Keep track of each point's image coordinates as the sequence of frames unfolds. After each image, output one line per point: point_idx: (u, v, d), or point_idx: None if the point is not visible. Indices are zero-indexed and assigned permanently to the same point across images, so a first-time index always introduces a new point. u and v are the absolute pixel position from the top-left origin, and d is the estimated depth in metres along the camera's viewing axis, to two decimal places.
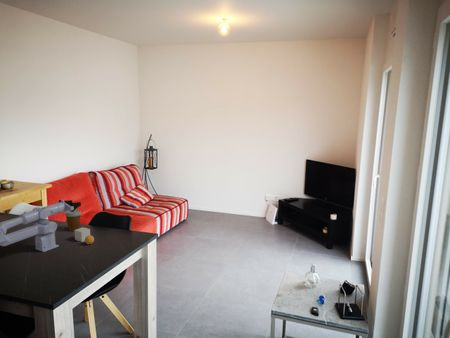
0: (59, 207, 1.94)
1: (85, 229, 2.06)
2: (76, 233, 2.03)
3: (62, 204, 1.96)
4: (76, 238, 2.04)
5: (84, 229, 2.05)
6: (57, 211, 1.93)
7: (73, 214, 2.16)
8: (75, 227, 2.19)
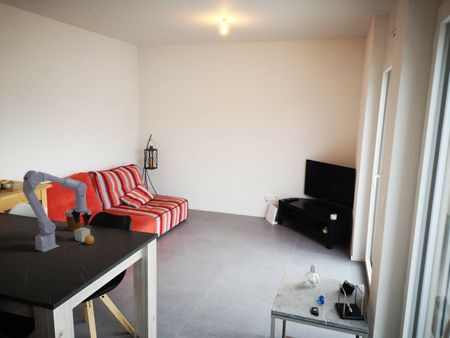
0: (85, 203, 2.02)
1: (85, 229, 2.06)
2: (76, 233, 2.03)
3: None
4: (76, 238, 2.04)
5: (84, 229, 2.05)
6: (81, 202, 1.99)
7: None
8: (75, 227, 2.19)
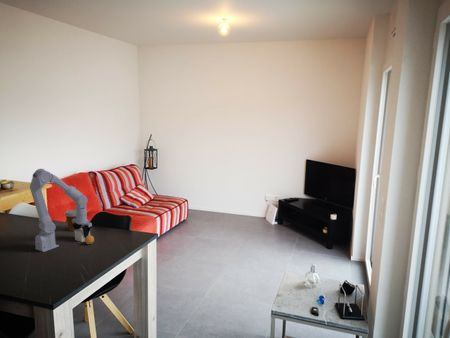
0: (86, 215, 2.03)
1: None
2: (76, 233, 2.03)
3: (86, 219, 2.05)
4: (76, 238, 2.04)
5: None
6: (81, 214, 2.01)
7: (73, 214, 2.16)
8: None
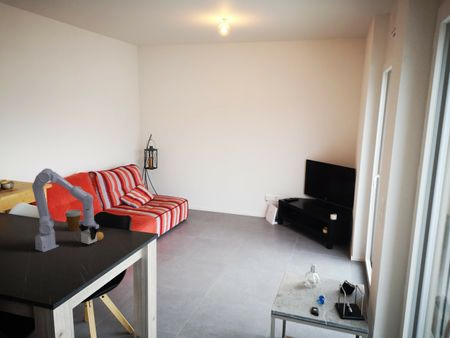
0: (93, 217, 1.96)
1: None
2: (82, 235, 1.97)
3: (93, 220, 1.98)
4: (82, 240, 1.97)
5: None
6: (86, 215, 1.94)
7: (73, 214, 2.16)
8: (75, 227, 2.19)
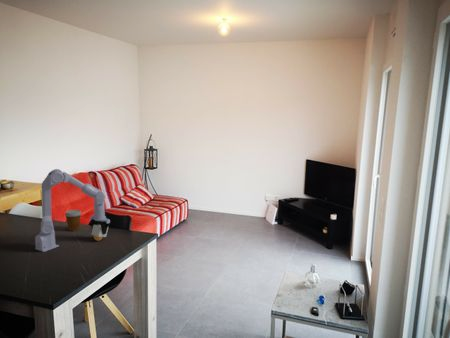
0: (104, 212, 2.03)
1: None
2: (94, 227, 2.04)
3: (104, 215, 2.05)
4: (93, 233, 2.03)
5: None
6: (98, 211, 2.01)
7: (73, 214, 2.16)
8: (75, 227, 2.19)
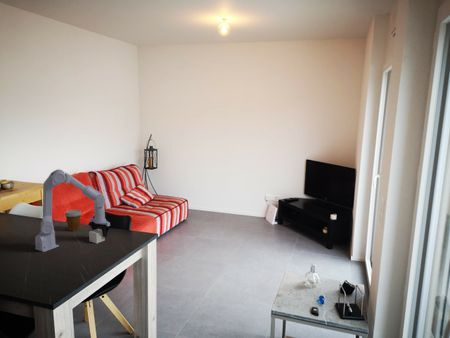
0: (104, 215, 2.04)
1: (100, 230, 2.04)
2: (91, 234, 2.02)
3: (104, 218, 2.05)
4: (91, 240, 2.02)
5: (99, 230, 2.04)
6: (98, 213, 2.01)
7: (73, 214, 2.16)
8: (75, 227, 2.19)
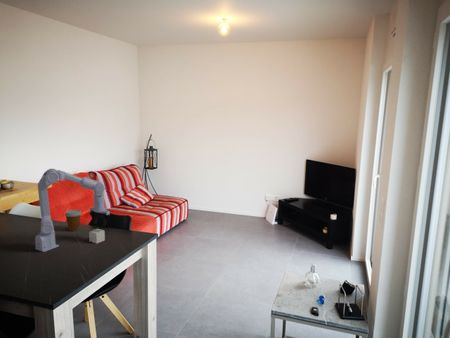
0: (103, 203, 2.02)
1: (100, 230, 2.04)
2: (91, 234, 2.02)
3: (104, 207, 2.04)
4: (91, 240, 2.02)
5: (99, 230, 2.04)
6: (98, 202, 2.00)
7: (73, 214, 2.16)
8: (75, 227, 2.19)
